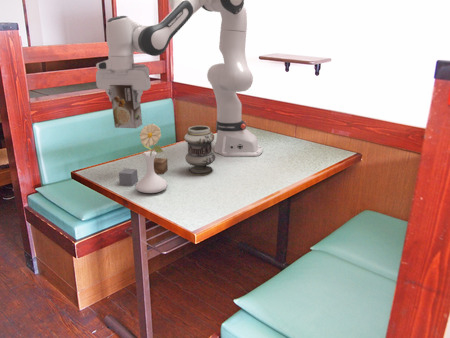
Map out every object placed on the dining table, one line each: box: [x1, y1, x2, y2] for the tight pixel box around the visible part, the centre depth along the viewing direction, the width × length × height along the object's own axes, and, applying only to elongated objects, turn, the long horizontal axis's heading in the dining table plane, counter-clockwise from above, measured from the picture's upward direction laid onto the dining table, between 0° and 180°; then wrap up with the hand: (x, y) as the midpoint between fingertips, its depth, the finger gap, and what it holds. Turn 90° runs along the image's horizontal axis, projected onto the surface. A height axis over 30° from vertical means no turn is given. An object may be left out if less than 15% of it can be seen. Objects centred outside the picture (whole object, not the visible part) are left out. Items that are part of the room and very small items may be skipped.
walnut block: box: [154, 157, 169, 175], centre depth 167 cm, size 5×5×5 cm
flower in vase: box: [135, 123, 169, 194], centre depth 146 cm, size 13×11×25 cm
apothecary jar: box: [183, 125, 216, 176], centre depth 165 cm, size 12×12×18 cm
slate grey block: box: [118, 167, 139, 187], centre depth 156 cm, size 5×5×5 cm
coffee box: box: [110, 85, 143, 129], centre depth 156 cm, size 9×6×16 cm
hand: (125, 101), depth 155 cm, fingers closed on coffee box, 8 cm apart
